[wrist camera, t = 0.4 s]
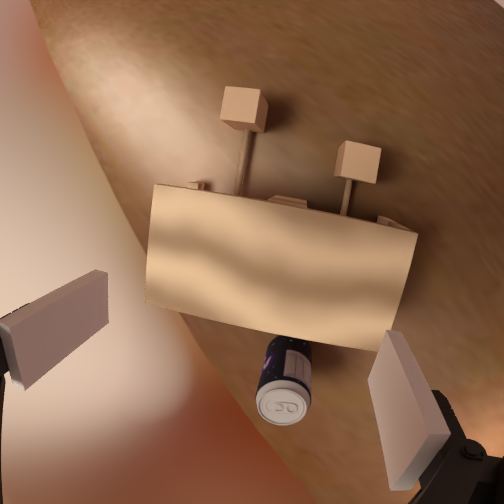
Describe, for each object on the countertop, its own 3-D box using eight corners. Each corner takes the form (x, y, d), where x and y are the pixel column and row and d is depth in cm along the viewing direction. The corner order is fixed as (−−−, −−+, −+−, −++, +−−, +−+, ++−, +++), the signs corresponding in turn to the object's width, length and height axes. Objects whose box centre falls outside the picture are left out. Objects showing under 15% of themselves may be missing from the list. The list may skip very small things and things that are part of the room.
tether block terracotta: (229, 100, 35) (212, 85, 28) (279, 106, 34) (274, 91, 28) (205, 253, 40) (185, 269, 33) (253, 263, 39) (242, 281, 32)
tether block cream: (327, 144, 35) (332, 137, 28) (378, 156, 34) (394, 151, 27) (303, 273, 38) (302, 293, 32) (351, 282, 38) (360, 304, 31)
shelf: (195, 181, 38) (154, 184, 27) (386, 217, 35) (418, 233, 24) (184, 270, 41) (144, 302, 30) (364, 307, 38) (382, 352, 27)
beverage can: (269, 328, 41) (254, 383, 29) (313, 332, 40) (314, 388, 28) (266, 365, 42) (252, 424, 30) (308, 369, 41) (306, 430, 30)
